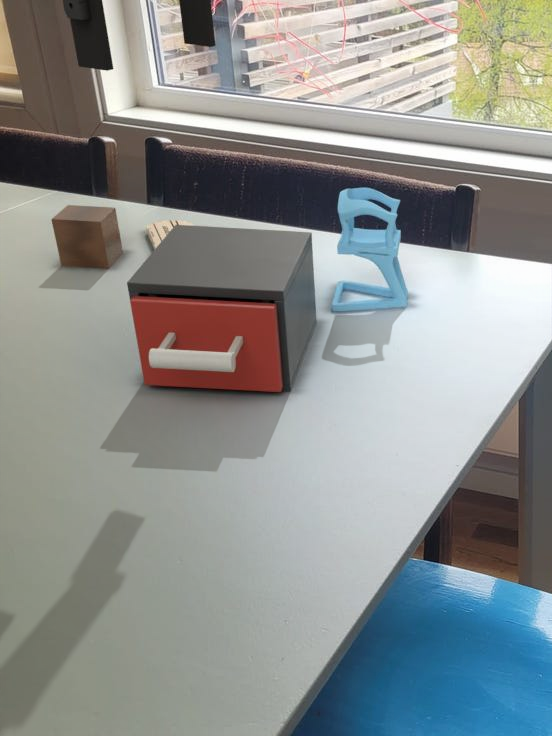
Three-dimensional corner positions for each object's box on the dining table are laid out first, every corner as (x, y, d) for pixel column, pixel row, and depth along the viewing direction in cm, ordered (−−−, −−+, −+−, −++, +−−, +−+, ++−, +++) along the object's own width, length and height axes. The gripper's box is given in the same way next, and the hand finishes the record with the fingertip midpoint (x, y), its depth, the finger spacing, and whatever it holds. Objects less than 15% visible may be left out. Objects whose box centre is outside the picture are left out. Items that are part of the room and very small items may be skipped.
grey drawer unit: (291, 394, 94) (283, 291, 88) (144, 386, 94) (126, 282, 88) (316, 326, 107) (311, 232, 101) (188, 319, 107) (175, 224, 101)
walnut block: (61, 268, 117) (51, 219, 113) (77, 253, 121) (67, 204, 117) (109, 271, 117) (100, 221, 113) (123, 255, 121) (115, 207, 117)
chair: (406, 316, 110) (406, 203, 103) (331, 313, 110) (325, 199, 102) (409, 291, 116) (409, 182, 109) (338, 288, 116) (333, 178, 108)
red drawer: (269, 421, 88) (261, 334, 83) (126, 413, 87) (109, 326, 82) (306, 327, 104) (301, 250, 99) (186, 321, 104) (175, 243, 99)
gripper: (12, -321, 58) (85, 85, 72) (248, -277, 77) (271, 41, 90) (-86, -323, 60) (4, 73, 74) (167, -280, 79) (202, 32, 92)
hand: (151, 56), depth 82 cm, fingers open, 13 cm apart
